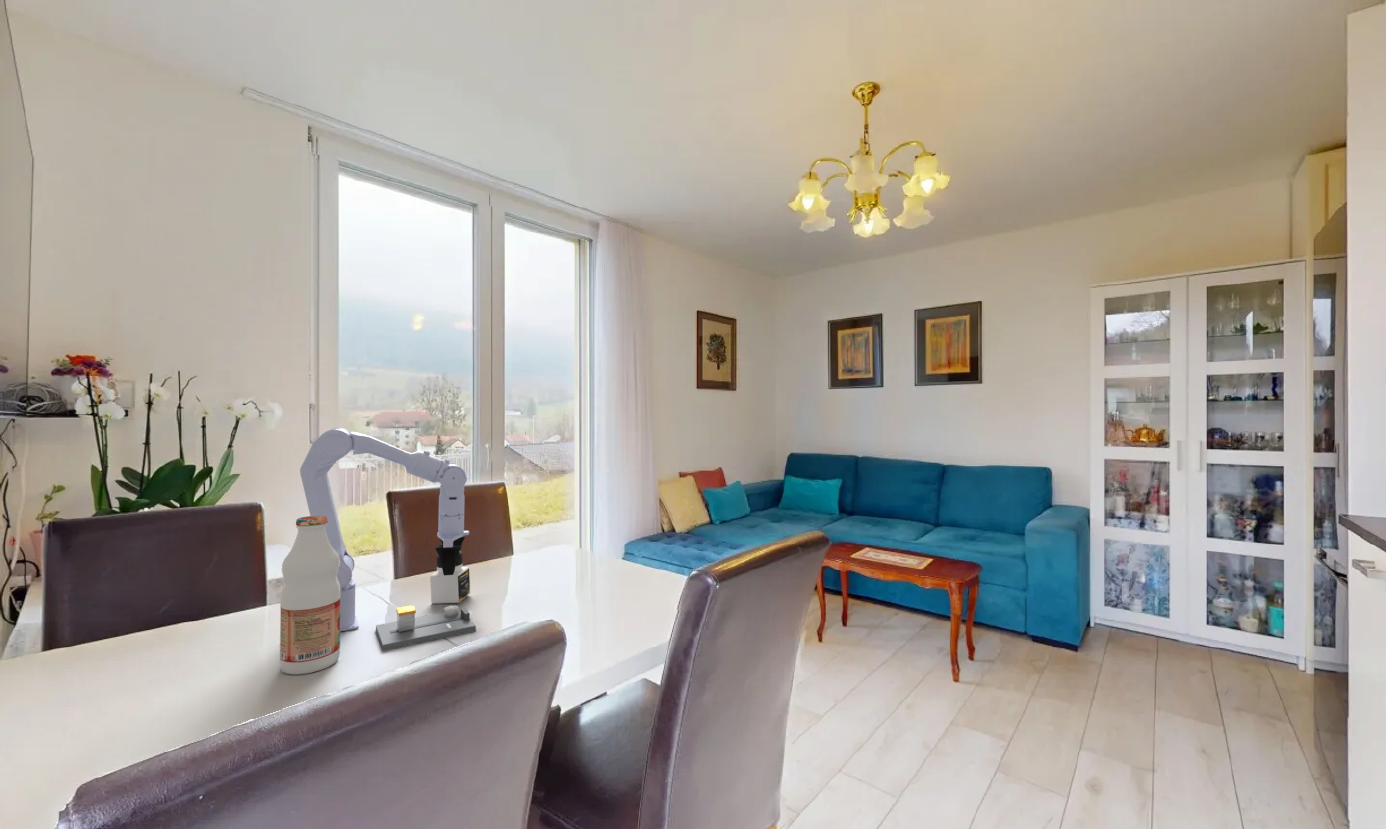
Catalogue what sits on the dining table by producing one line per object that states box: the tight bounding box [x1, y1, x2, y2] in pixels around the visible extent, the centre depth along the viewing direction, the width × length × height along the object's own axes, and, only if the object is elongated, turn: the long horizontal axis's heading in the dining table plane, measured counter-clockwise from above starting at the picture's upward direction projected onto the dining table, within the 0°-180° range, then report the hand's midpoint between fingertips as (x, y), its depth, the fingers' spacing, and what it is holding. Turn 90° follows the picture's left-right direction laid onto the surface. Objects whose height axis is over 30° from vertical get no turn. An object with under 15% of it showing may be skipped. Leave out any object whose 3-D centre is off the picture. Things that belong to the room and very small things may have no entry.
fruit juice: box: [279, 515, 341, 676], centre depth 105 cm, size 9×9×28 cm
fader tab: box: [395, 605, 416, 632], centre depth 120 cm, size 3×4×4 cm
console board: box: [375, 605, 477, 651], centre depth 122 cm, size 18×12×3 cm, turn 126°
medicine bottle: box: [429, 551, 471, 605], centre depth 142 cm, size 7×7×12 cm
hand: (450, 570), depth 134 cm, fingers open, 7 cm apart
